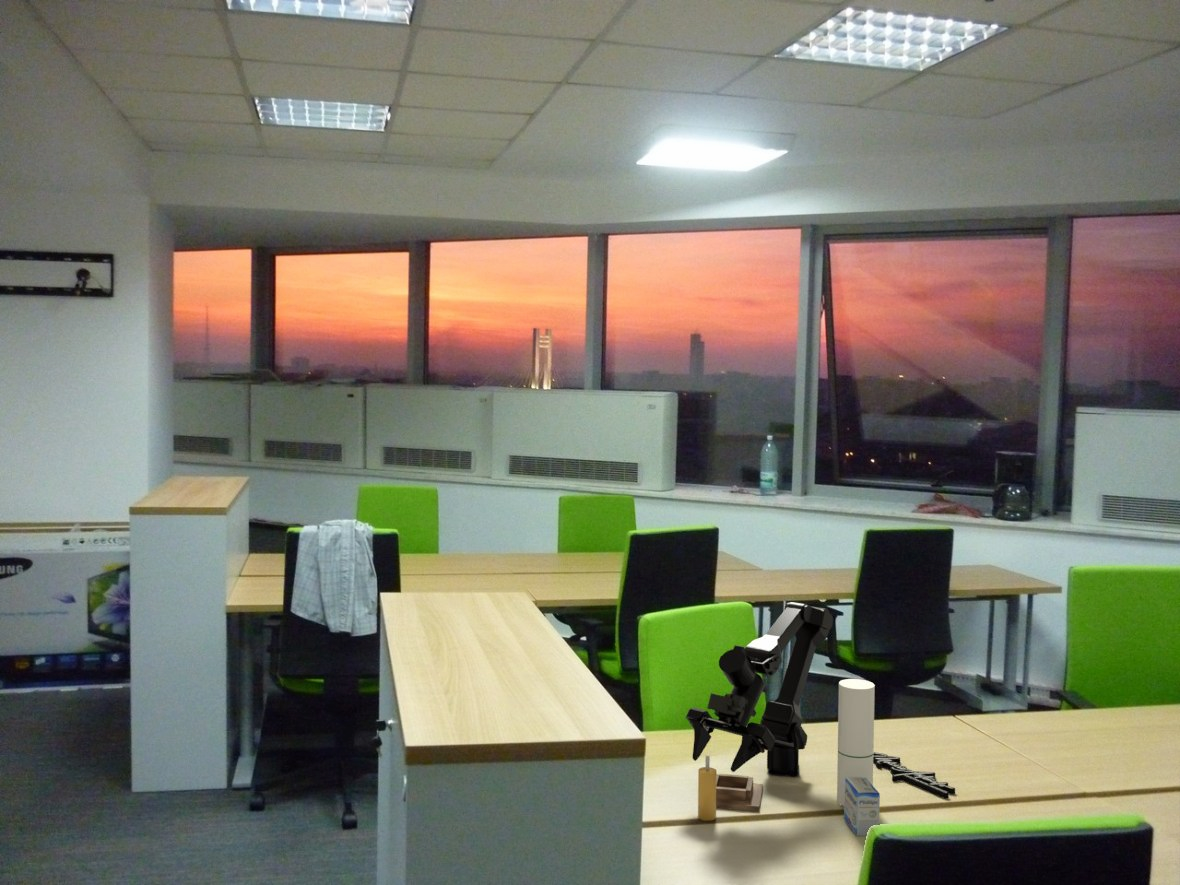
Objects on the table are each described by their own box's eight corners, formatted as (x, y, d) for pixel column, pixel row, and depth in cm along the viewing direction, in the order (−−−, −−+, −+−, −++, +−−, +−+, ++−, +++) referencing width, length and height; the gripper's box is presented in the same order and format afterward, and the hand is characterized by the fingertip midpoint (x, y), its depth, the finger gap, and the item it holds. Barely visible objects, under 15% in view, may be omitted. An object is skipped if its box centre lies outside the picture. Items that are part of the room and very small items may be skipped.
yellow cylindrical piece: (716, 814, 209) (717, 753, 209) (715, 821, 206) (715, 759, 205) (699, 812, 210) (699, 751, 209) (696, 819, 207) (697, 758, 206)
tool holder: (762, 788, 222) (763, 773, 222) (759, 811, 211) (759, 795, 210) (706, 783, 225) (707, 769, 225) (700, 805, 213) (700, 790, 213)
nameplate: (842, 755, 239) (873, 747, 244) (842, 761, 239) (873, 753, 244) (938, 796, 216) (970, 786, 221) (938, 803, 216) (970, 793, 221)
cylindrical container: (873, 798, 217) (875, 680, 216) (871, 811, 211) (873, 690, 209) (838, 793, 220) (840, 677, 218) (835, 806, 213) (837, 687, 211)
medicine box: (843, 819, 207) (844, 777, 206) (865, 818, 207) (866, 776, 207) (856, 837, 199) (857, 792, 199) (879, 836, 200) (880, 792, 199)
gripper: (691, 669, 218) (658, 734, 210) (768, 686, 206) (736, 756, 198) (712, 697, 224) (681, 761, 217) (787, 716, 212) (758, 784, 205)
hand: (712, 765), depth 209 cm, fingers open, 9 cm apart
